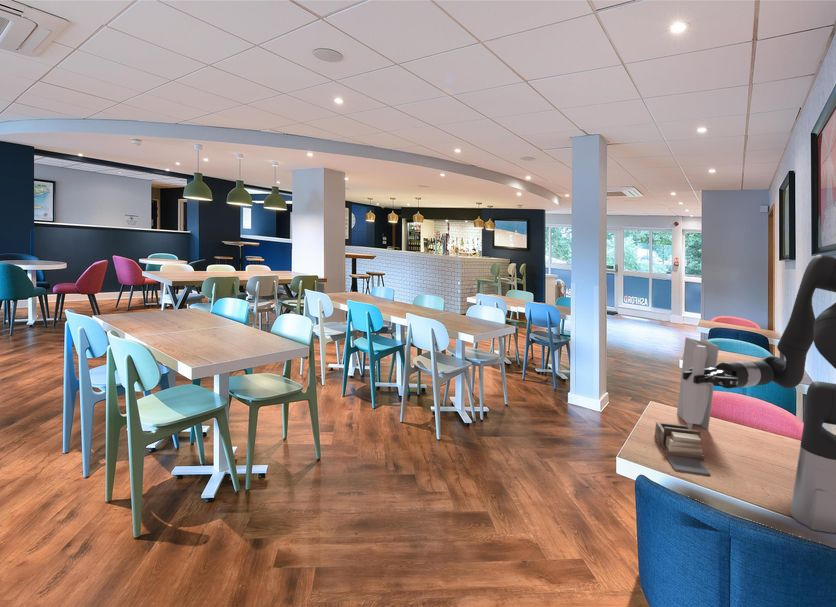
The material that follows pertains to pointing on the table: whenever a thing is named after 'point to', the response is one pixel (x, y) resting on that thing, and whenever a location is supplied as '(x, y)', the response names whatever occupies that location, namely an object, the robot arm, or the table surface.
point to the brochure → (687, 364)
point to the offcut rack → (679, 440)
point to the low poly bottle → (696, 389)
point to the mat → (687, 465)
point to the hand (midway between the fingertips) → (689, 377)
